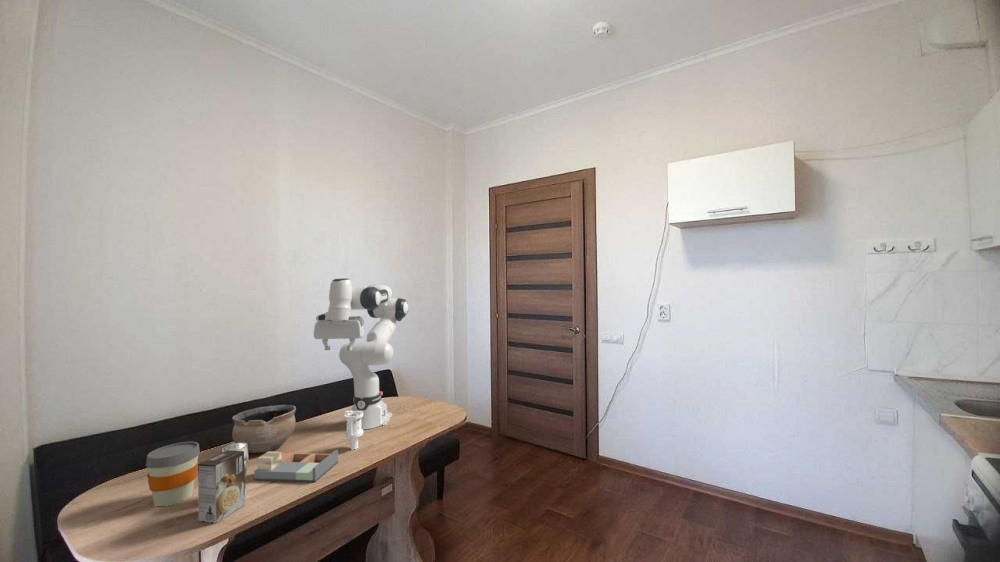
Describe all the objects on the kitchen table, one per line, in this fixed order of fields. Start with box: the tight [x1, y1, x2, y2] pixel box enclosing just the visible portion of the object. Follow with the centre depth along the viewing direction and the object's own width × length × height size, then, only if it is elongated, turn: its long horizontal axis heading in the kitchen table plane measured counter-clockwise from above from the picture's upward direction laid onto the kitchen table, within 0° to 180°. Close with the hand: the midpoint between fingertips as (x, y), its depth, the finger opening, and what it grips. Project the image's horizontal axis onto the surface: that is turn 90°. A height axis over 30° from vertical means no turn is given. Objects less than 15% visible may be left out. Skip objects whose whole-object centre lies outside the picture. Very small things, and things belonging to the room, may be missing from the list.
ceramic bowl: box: [231, 404, 297, 454], centre depth 150 cm, size 22×22×15 cm
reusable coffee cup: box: [145, 441, 201, 507], centre depth 114 cm, size 12×13×15 cm
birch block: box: [257, 451, 283, 470], centre depth 127 cm, size 5×5×4 cm
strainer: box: [343, 410, 364, 451], centre depth 148 cm, size 7×7×15 cm
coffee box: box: [197, 450, 246, 524], centre depth 106 cm, size 9×6×16 cm
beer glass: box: [221, 442, 249, 495], centre depth 115 cm, size 7×7×15 cm
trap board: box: [253, 449, 339, 483], centre depth 130 cm, size 14×22×4 cm, turn 84°
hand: (338, 350), depth 151 cm, fingers open, 8 cm apart
